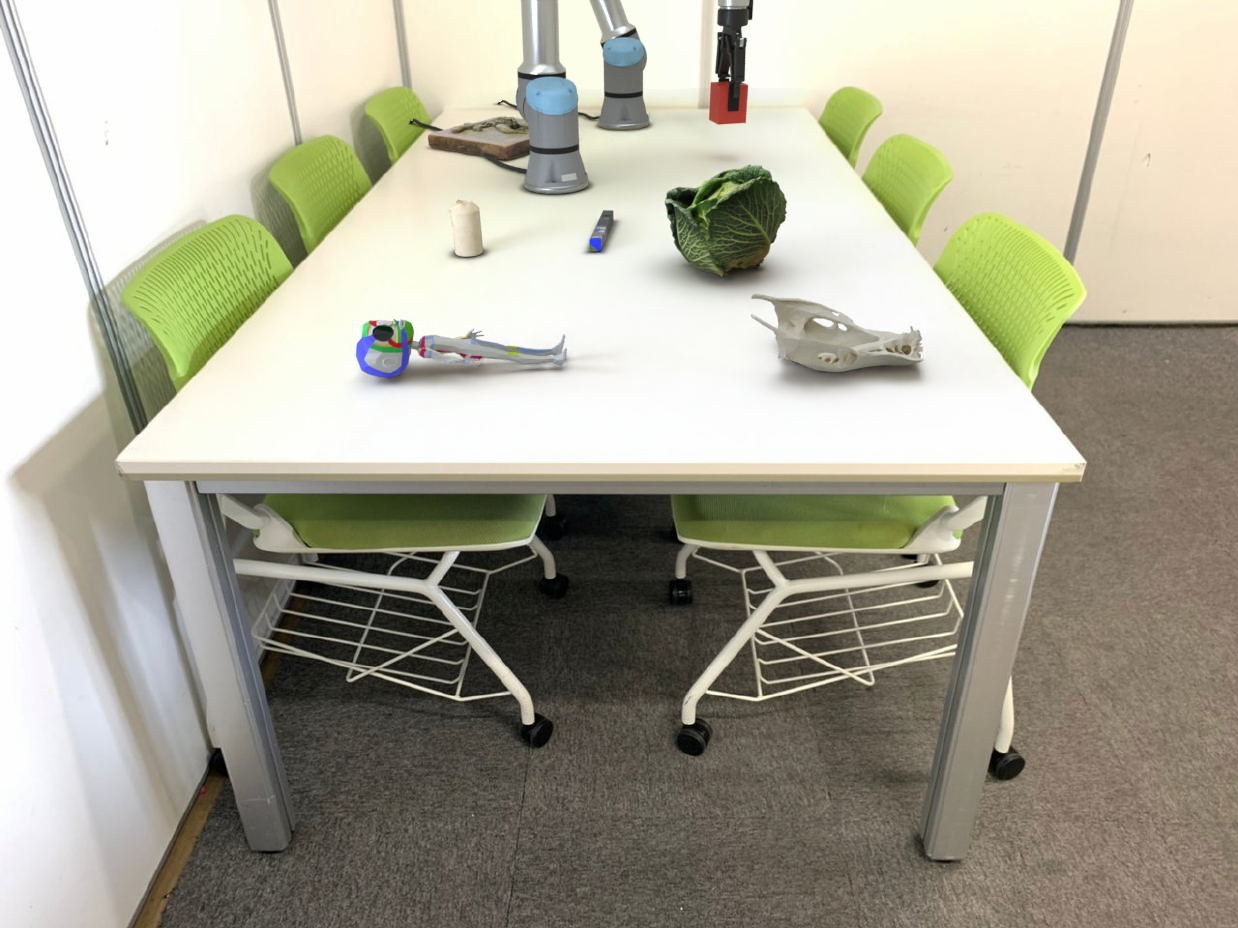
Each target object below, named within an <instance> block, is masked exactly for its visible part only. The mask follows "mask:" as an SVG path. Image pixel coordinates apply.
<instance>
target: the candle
mask: <svg viewBox="0 0 1238 928" xmlns="http://www.w3.org/2000/svg"><path fill="white" fill-rule="evenodd" d="M449 212H450V213H449V214H450V222H451V228H452V231H451V232H452V239H453V247H454V253H455V255H457V256H459V257H465V258H466V257H467V258H468V257H475V256H479V255H481V254H483V252H484V242H483V234H482V233H483V232H482V231H483V230H482V222H481V221H482V220H481V212H480V207H479V205H478V204H476V203H475V202H474V201H472V200H470V201H468V200H465V199H464V200H462V199H457V200H456V201H455V202H454V203H453V205H452V206H451V207H450V209H449Z"/></svg>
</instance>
